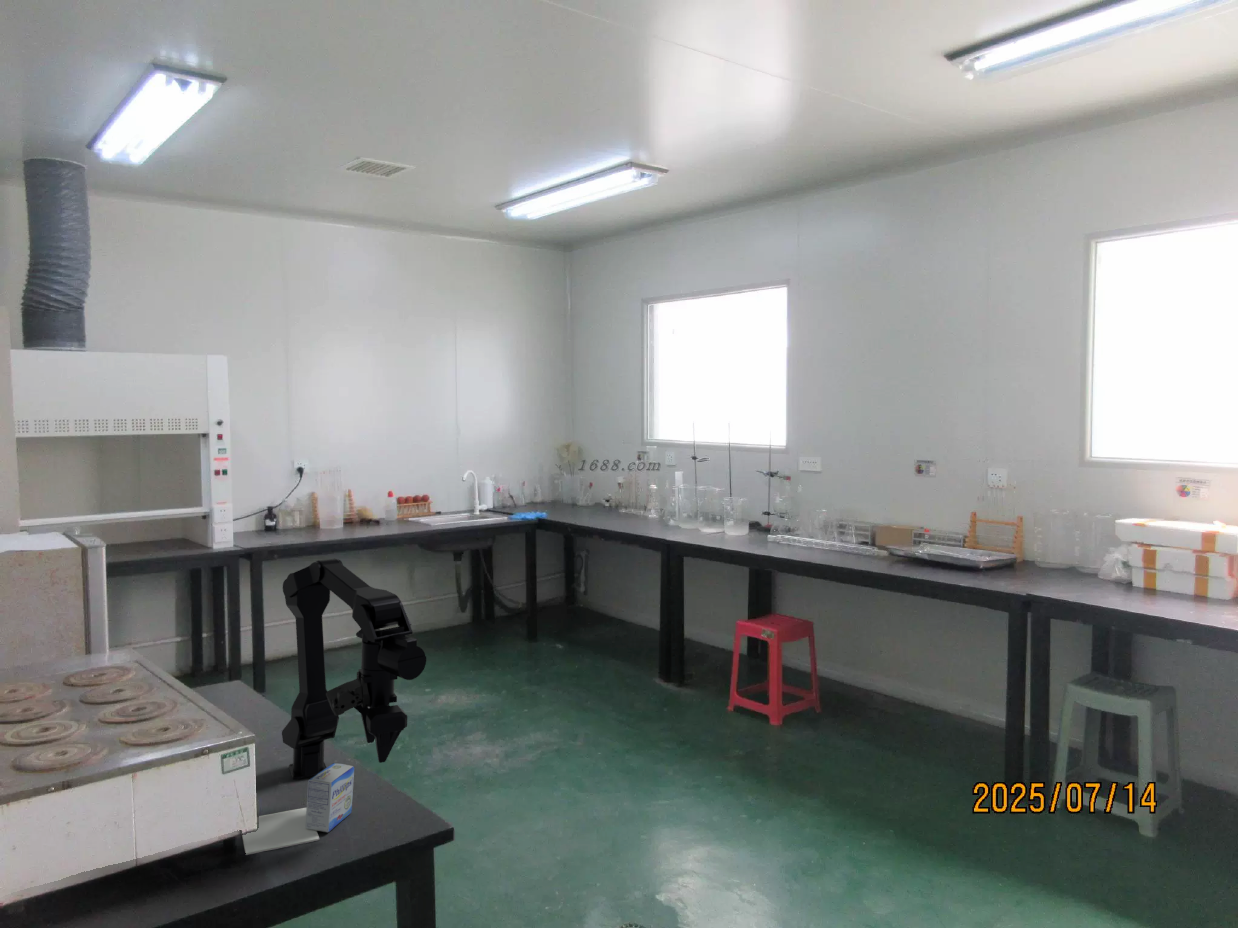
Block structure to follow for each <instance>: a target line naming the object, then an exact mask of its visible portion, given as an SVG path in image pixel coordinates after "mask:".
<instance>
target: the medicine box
mask: <svg viewBox="0 0 1238 928" xmlns="http://www.w3.org/2000/svg"><path fill="white" fill-rule="evenodd" d="M326 767H327V768H326V769H324V770H323V771H321V772H320V773H318V774H317V775H316V776H312V777H310V779H308V781H307V795H306V807H305V808H306V825H305V828H307V829H311V830H316V831H317V832H323V833H330V832H331V831H332V830H333V829H334V828H336V827H337V826H338V825H339V824H340V823H341V822H342V821H343V820H345V819H346V818H347V817H348V816H349V815H350V814H352V811H353V810H352V809H353V797H354V796H353V793H354V791H353V790H354V780H355V779H354V778H355V777H354V776H355V767H354V766H353V765H349V764H345V763H334V762H333V763H331V764H330V765H328V766H326Z"/></svg>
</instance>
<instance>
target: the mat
mask: <svg viewBox="0 0 1238 928" xmlns="http://www.w3.org/2000/svg"><path fill="white" fill-rule="evenodd" d="M258 816H259V828H258V830H257V831H256V832H251V833H247V834H246V835H242V834H241V837H242V843H243V848H244V852H245V853H246V854H245V856H248V855H253V854H258V853H262V852H266V851H267V852H268V851H271V850H278V849H283V848H287V847H293V846H297V845H303V844H306V843H307V844H308V843H312V842H317V841H320V836H319V834H318V831H316V830H311V829H307V828H305V825H306V807H302V808H296V809H290V810H285V811H279V812H274V813H270V814H269V813H268V814H264V815H258Z"/></svg>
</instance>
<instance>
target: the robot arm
mask: <svg viewBox="0 0 1238 928" xmlns="http://www.w3.org/2000/svg"><path fill="white" fill-rule="evenodd" d="M282 592H283V595H284V600H285V605H286V607H287V608H288V610H290V612H291V614H292V615H293V617H294V618H295V629H296V631H295V633H296V649H297V651H296V653H297V667H298V668H297V669H298V685H299V686H298V688H299V689H298V691H299V692H298V694H297V696H296V698H295V699H294V702H293V703H292V705H291V710H290V711H291V714H290V718H291V719H289V721H288V722H287V724H286V725H285V727H284V728H283V729H282V730H281V736H282V743H283V744H285V745H286V746H288V747H289V748H291V749H292V751H293V752H292V763H290V764H289V765H288V769H289V772H290V774H291V777H292V778H291V779H292V780H300V779H305V778H313V777H314V776H316V775H317V774H318V773H320V772H321V771H323V770H324V769H326V768H327V767H328V766H327V765H326V763H325V741H326V740H329V739H334V738H335V737H336V733H337V728H338V724H339V721H340V716H341V715H343V714H345V712H347V711H349V710H352V709H353V708H354V710H356V711H357V712H358V713H360V716H361V721H362V725H363V730H364V734H365V739H366V742H367V744H371V743H374V742H375V747H376V754H377V760H378V762H379V763H385V762H386V761H387V759H388V757H389V756H390V753H391V751H392V749H393V747H394V745H395V743H396V741H397V740H398V738H399V736H400V734H401V733H402V731H404V730H405V729H406V728H407V727H408V715H407V713H406V712H405V711H404V709H403V708H402V707H400V706H399V704H395V705H394V703H397V701H398V696H397V695H396V694H395V681H396V680H398V678H401V679H403V680H407V681H412V680H415V679H417V678H418V677H419V676H420V675H421V674H422V673H423V671H424V670H425V667H426V665H427V656H426V653H425V651H424V649H422V648H421V647H420V646H418V644H417V642H418V640H417V638H415V637H408V636H412V635H413V634H414V633H413V629H412V627H411V626H412V623H411V621H410V619H409V617H408V615H407V613H406V610H405V608H404V605H403V603H402V602H403V601H402V600H401V599H400V597H399V596H398V595H397V594H396V593H393V592H391V591H389V590H387V589H381V588H375V587H373V586H370V585H369V584H368V583H367V582H365V581H364V580H363V579H362V578H360V577H359V576H358V575H356V574H355V573H353V572H352V571H351V570H350V569H348V568H347V567H346V566H345V565H344V564H343V562H342V560H341V559H338V558H328V559H319V560H315V561H314V562H312V563H311V564H310V565H309V566H306V567H304V568H301V569H299V570H296V571H294V572H291V573H289V574H288V575H287V577H286V579H284V580H283V583H282ZM331 593H332V594H334V595H335V596H336V597H337V598H339V599H340V600H341V601H342V602H344V603H345V604H346V605H347V606H348V607H350V608H351V610H352V612H351V613H352V616H351V617H352V620H353V621H354V622H355V624H357V625H358V626H359V628H360V629H359V630H358V631H356V633H355V636H356V638H359V639H361V664H360V665H361V666H360V668H359V669H358V671H356V678H355V679H353V680H350V681H347V682H345V683H342V684H340V685H337V686H335V687H333V688H331V689H329V690H327V680H326V679H327V678H326V666H325V665H326V662H325V661H326V659H325V645H324V627H323V626H324V625H323V624H324V623H323V615H324V613H325V611H326V609H327V607H328V605H329V603H330V601H331ZM392 703H393V705H390V704H392Z"/></svg>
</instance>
